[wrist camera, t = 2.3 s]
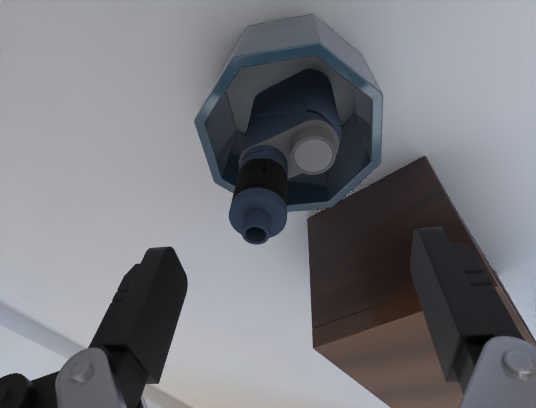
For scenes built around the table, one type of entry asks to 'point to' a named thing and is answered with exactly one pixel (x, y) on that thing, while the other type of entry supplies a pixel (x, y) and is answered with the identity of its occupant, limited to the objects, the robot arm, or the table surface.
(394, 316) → the block
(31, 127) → the table surface
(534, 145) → the table surface
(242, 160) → the vaping device
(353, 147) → the pen pot
